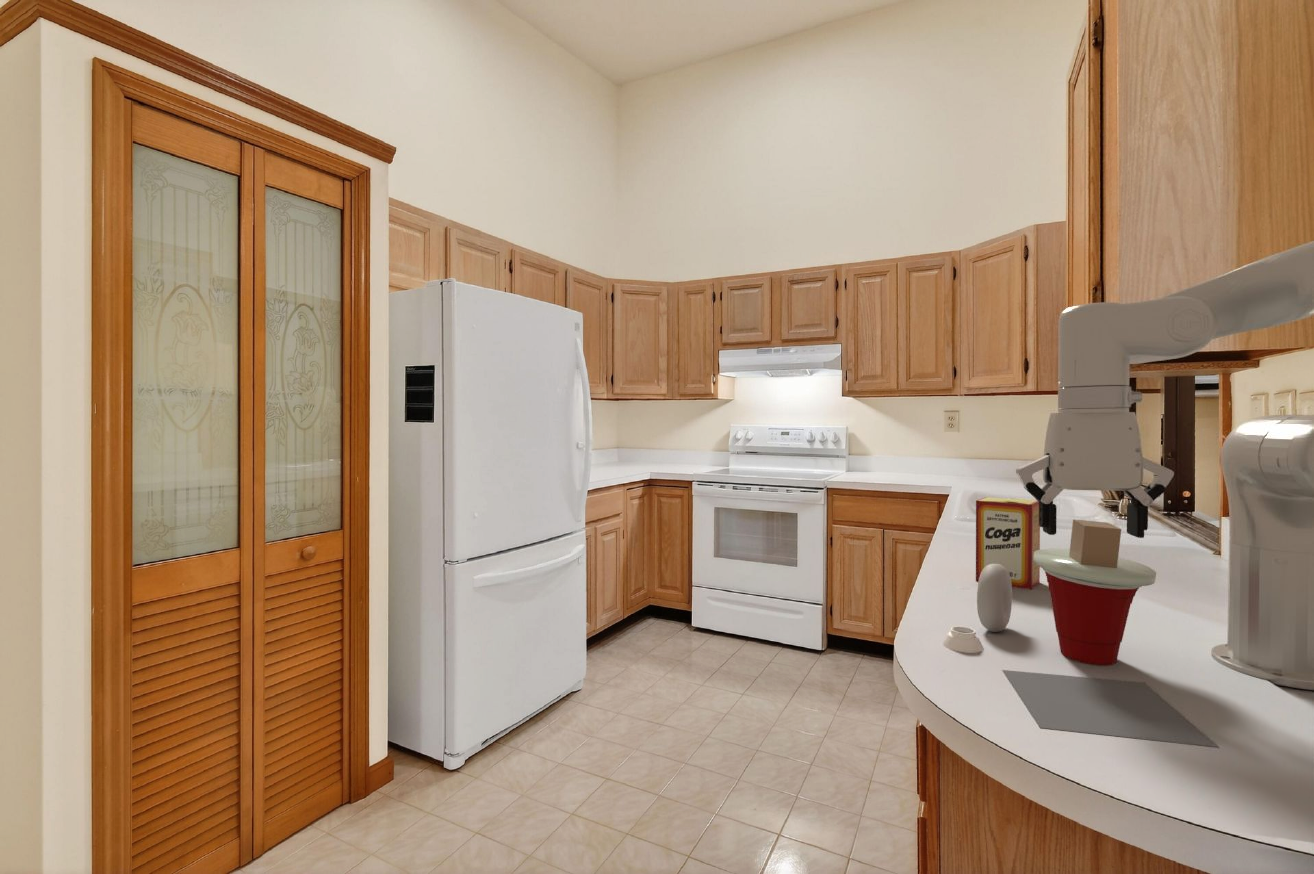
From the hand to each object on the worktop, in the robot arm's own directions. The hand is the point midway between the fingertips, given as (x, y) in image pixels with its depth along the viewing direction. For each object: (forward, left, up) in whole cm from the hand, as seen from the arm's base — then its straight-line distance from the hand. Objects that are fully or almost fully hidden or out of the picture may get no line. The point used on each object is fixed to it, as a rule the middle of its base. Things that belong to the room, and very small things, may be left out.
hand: (1091, 534), depth 81 cm
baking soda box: (0, -41, -17) cm, 44 cm away
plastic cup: (0, 0, -17) cm, 17 cm away
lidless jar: (+15, 0, -17) cm, 23 cm away
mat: (+5, +15, -16) cm, 23 cm away
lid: (0, 0, -5) cm, 5 cm away
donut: (+9, -10, -17) cm, 22 cm away
